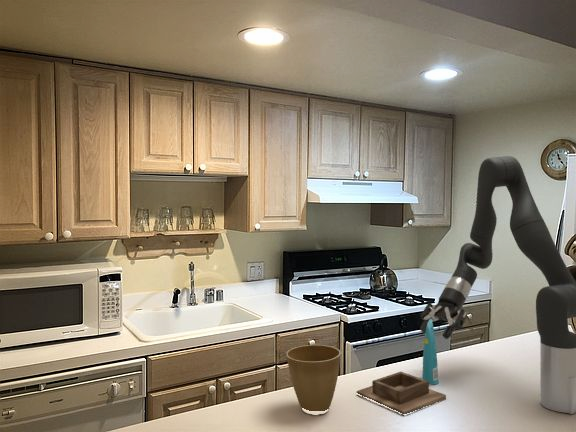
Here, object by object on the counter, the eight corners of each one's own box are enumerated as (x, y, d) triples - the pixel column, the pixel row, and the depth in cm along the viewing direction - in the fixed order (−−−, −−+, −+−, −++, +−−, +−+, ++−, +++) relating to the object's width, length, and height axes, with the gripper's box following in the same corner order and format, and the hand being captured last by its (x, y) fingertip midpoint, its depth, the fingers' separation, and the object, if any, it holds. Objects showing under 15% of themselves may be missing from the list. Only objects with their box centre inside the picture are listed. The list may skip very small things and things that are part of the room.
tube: (423, 377, 155) (422, 318, 155) (439, 378, 154) (438, 319, 153) (421, 385, 148) (420, 323, 148) (437, 387, 147) (437, 324, 146)
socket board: (446, 399, 138) (446, 382, 138) (404, 416, 127) (404, 398, 127) (397, 380, 152) (397, 366, 152) (356, 395, 142) (356, 379, 142)
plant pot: (327, 395, 142) (326, 341, 142) (351, 416, 128) (350, 356, 128) (279, 403, 137) (278, 348, 136) (299, 426, 123) (298, 364, 122)
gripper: (432, 283, 162) (409, 323, 156) (469, 289, 151) (447, 332, 144) (442, 297, 165) (420, 336, 159) (479, 304, 154) (458, 346, 148)
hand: (433, 334), depth 152 cm, fingers open, 8 cm apart
